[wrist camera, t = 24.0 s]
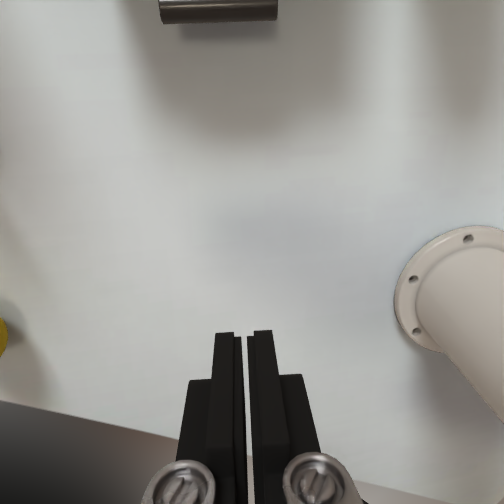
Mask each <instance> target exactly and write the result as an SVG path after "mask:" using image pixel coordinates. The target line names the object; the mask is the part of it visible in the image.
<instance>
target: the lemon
mask: <svg viewBox="0 0 504 504" xmlns="http://www.w3.org/2000/svg"><path fill="white" fill-rule="evenodd" d="M7 341H8V330H7V327H6V324H5V323H4V321H3V320H2V318H1V317H0V357H1V355H2V354H3V352H4V350H5V348H6V345H7Z"/></svg>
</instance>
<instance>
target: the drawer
mask: <svg viewBox="0 0 504 504" xmlns="http://www.w3.org/2000/svg"><path fill="white" fill-rule="evenodd" d="M158 2H159V11H160V16H161V20H162V23H163V24H191V23H219V22H248V21H276V20H277V12H278V0H158Z"/></svg>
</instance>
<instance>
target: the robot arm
mask: <svg viewBox="0 0 504 504" xmlns="http://www.w3.org/2000/svg"><path fill="white" fill-rule="evenodd" d="M394 304H395V312H396V315H397V318H398V321H399V323H400V324H401V326H402V328H403V329H404V331H405V332H406V333H407V335H408V336H409V337H410V338H411V339H412V340H414V341H415V342H416V343H417V344H419V345H420V346H422V347H424V348H426V349H429V350H432V351H436V352H440V353H445V354H446V355H447V356H448V357H449V358H450V360H451V361H452V362H453V363H454V364H455V366H456V367H457V368H458V369H459V371H460V372H461V373H462V374H463V375H464V377H465V378H466V379H467V380H468V381H469V383H470V384H471V385H472V386H473V387H474V389H475V390H476V391H477V392H478V393H479V395H480V396H481V397H482V398H483V399H484V401H485V402H486V403H487V404H488V406H489V407H490V408H491V409H492V410H493V412H494V413H495V414H496V415H497V416H498V418H499V419H500V420H501V421H502V422H503V424H504V231H503V230H500V229H497V228H494V227H487V226H470V227H463V228H459V229H455V230H452V231H449V232H447V233H445V234H442V235H440V236H438V237H436V238H435V239H433V240H432V241H430V242H429V243H427V244H426V245H425V246H423V247H422V248H421V249H420V250H419V251H418V252H417V253H416V254H415V255H414V256H413V257H412V258H411V260H410V261H409V262H408V263H407V264H406V266H405V268H404V270H403V271H402V273H401V275H400V277H399V280H398V283H397V286H396V290H395V297H394ZM247 349H248V370H249V392H250V413H251V435H252V455H253V475H254V495H255V504H368V503H367V502H365V501H364V500H363V499H361V498H360V495H359V493H358V491H357V489H356V487H355V485H354V483H353V480H352V478H351V476H350V474H349V473H348V471H347V470H346V468H345V467H344V466H343V465H342V464H341V463H340V462H339V461H338V460H337V459H335V458H333V457H331V456H329V455H327V454H324V453H321V450H320V446H319V442H318V438H317V434H316V429H315V425H314V421H313V417H312V413H311V409H310V405H309V401H308V396H307V392H306V388H305V384H304V380H303V377H302V374H288V375H279V372H278V366H277V359H276V353H275V347H274V340H273V334H272V330H262V331H254V336H247ZM247 481H248V480H247V446H246V415H245V396H244V378H243V360H242V343H241V337H234V332H225V333H216V334H215V343H214V355H213V366H212V377H211V379H201V380H190V381H189V384H188V390H187V396H186V402H185V408H184V414H183V420H182V426H181V432H180V437H179V443H178V449H177V456H176V461H175V462H173V463H170V464H168V465H167V466H165V467H164V468H162V469H160V470H159V471H158V472H157V473H156V475H155V476H154V477H153V478H152V479H151V481H150V483H149V485H148V487H147V489H146V492H145V494H144V496H143V499H142V502H141V504H248V482H247Z"/></svg>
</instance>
